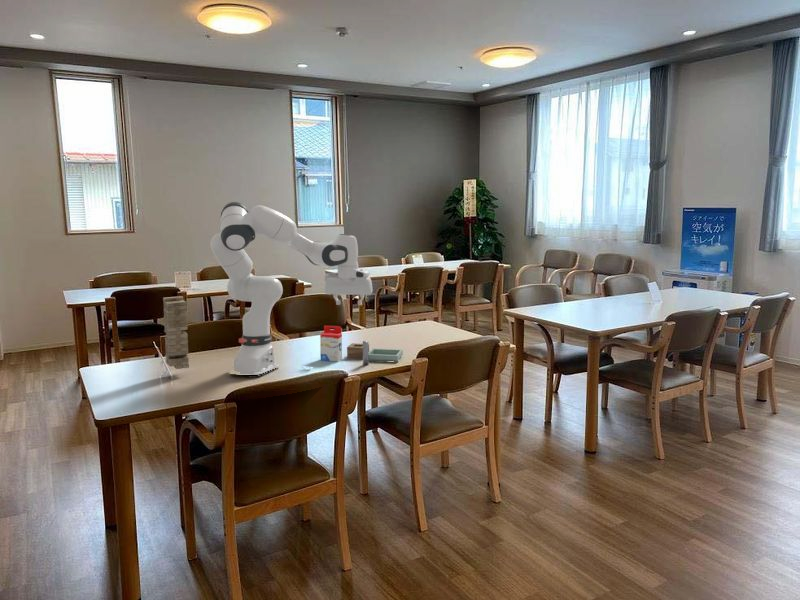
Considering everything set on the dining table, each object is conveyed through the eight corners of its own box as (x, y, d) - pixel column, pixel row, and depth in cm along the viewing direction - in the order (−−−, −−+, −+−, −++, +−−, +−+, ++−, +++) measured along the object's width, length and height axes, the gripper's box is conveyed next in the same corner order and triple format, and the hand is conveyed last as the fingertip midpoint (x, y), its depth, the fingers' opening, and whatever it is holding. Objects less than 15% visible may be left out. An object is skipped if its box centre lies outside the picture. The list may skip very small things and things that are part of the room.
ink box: (320, 360, 262) (319, 327, 260) (324, 358, 267) (323, 325, 265) (338, 361, 260) (338, 328, 258) (342, 359, 265) (342, 326, 263)
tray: (397, 362, 258) (397, 355, 258) (365, 361, 261) (365, 354, 260) (402, 356, 270) (402, 349, 269) (372, 355, 272) (372, 348, 272)
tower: (170, 370, 246) (166, 299, 242) (165, 366, 253) (161, 297, 249) (190, 368, 250) (186, 298, 246) (185, 363, 257) (181, 295, 253)
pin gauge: (367, 365, 253) (367, 342, 252) (362, 365, 254) (362, 342, 252) (369, 364, 256) (368, 341, 254) (363, 364, 256) (363, 340, 255)
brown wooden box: (364, 359, 265) (364, 347, 264) (347, 358, 267) (347, 347, 266) (369, 354, 273) (369, 344, 272) (352, 354, 274) (351, 343, 274)
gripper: (322, 273, 254) (323, 305, 256) (369, 273, 250) (370, 306, 252) (326, 271, 260) (328, 303, 262) (373, 271, 256) (373, 304, 258)
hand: (349, 304), depth 257 cm, fingers open, 8 cm apart
